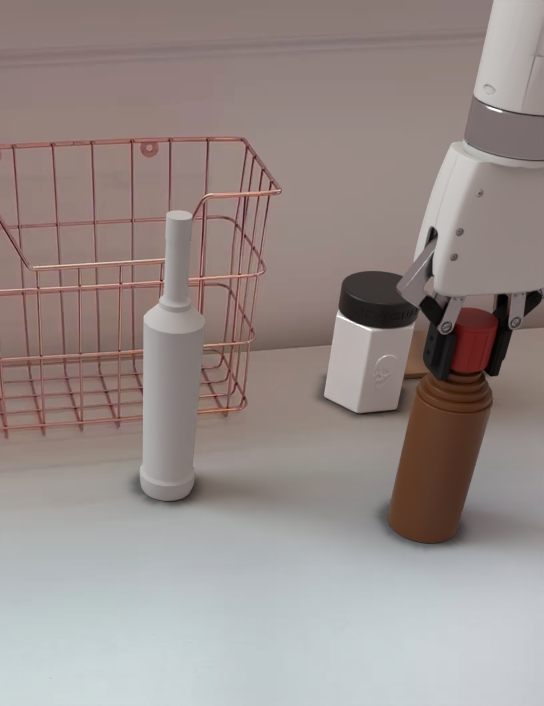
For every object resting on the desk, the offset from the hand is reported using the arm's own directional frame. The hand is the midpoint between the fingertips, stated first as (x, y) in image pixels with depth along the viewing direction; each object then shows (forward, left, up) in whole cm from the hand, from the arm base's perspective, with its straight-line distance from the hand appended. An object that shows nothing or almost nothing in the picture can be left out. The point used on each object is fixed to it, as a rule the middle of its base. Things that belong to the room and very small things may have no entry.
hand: (460, 368), depth 84 cm
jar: (-3, -23, -16) cm, 28 cm away
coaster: (-13, -31, -15) cm, 37 cm away
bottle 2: (0, 0, -15) cm, 15 cm away
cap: (0, 0, +1) cm, 1 cm away
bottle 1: (+22, -9, -16) cm, 28 cm away
